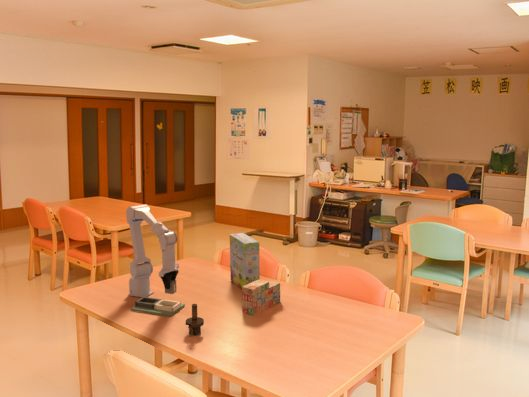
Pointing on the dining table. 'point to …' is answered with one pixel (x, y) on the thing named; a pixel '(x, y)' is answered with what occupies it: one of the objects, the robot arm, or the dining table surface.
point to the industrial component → (194, 322)
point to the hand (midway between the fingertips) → (169, 287)
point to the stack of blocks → (259, 296)
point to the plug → (171, 287)
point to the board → (157, 306)
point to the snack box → (244, 259)
